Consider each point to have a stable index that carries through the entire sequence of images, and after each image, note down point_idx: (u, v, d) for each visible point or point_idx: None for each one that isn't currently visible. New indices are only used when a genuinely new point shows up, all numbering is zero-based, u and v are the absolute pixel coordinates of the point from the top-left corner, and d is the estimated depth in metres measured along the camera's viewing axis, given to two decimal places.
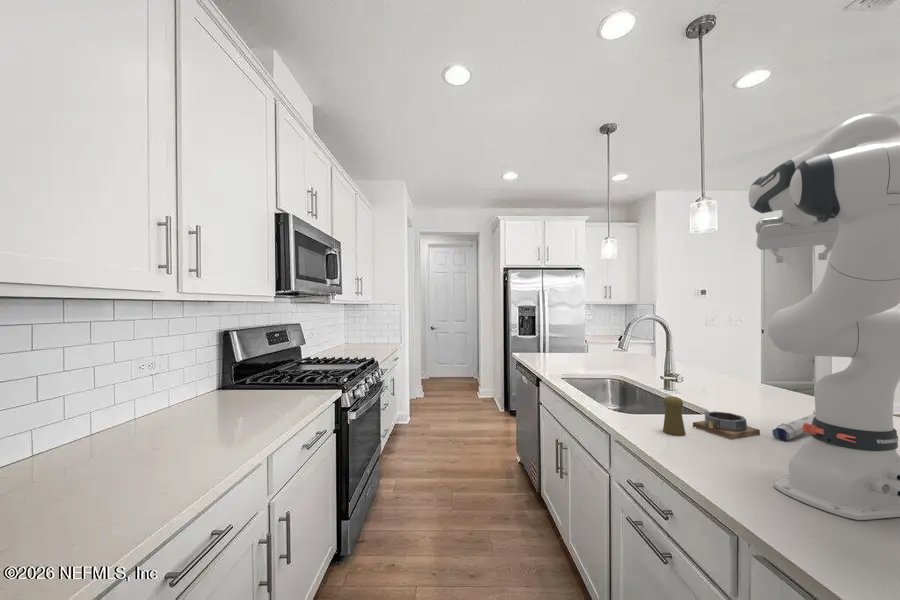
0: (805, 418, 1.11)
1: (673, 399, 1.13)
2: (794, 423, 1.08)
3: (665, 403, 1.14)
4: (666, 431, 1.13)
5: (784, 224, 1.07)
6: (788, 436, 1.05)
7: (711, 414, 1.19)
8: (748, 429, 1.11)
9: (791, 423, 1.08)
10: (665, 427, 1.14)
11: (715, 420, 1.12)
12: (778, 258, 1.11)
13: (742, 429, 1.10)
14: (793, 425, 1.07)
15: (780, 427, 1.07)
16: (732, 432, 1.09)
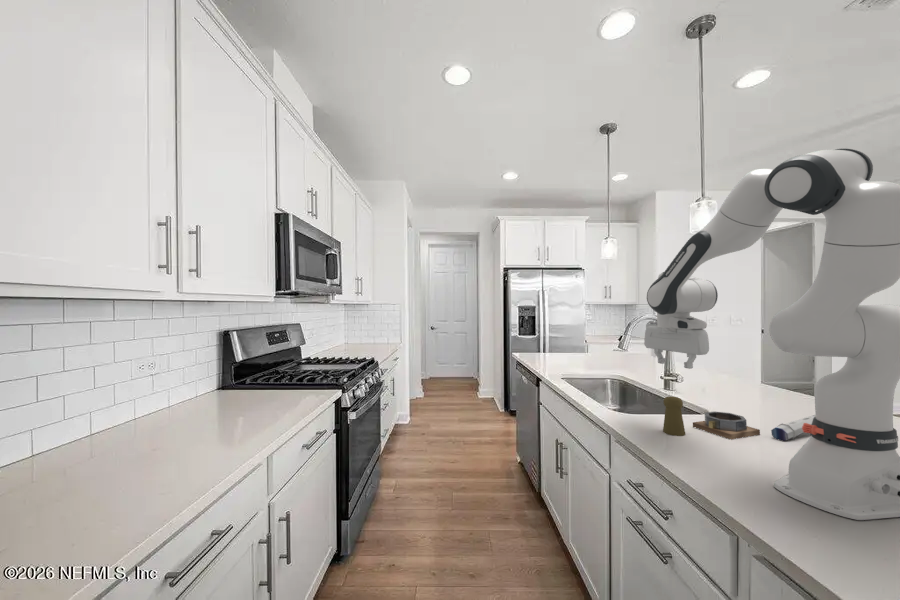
0: (806, 418, 1.10)
1: (673, 399, 1.13)
2: (794, 423, 1.08)
3: (665, 403, 1.14)
4: (666, 431, 1.13)
5: (658, 327, 1.19)
6: (786, 436, 1.05)
7: (711, 414, 1.19)
8: (748, 429, 1.11)
9: (791, 423, 1.08)
10: (665, 427, 1.14)
11: (715, 420, 1.12)
12: (658, 359, 1.20)
13: (742, 429, 1.10)
14: (792, 425, 1.07)
15: (779, 427, 1.07)
16: (732, 432, 1.09)
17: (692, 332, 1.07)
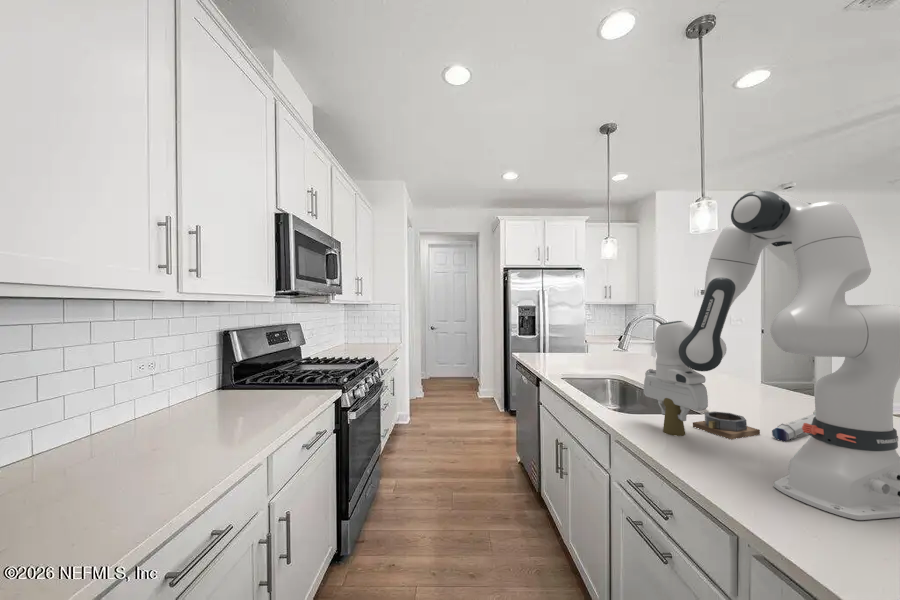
0: (805, 418, 1.11)
1: None
2: (794, 423, 1.08)
3: (665, 403, 1.14)
4: (666, 431, 1.13)
5: (657, 377, 1.18)
6: (787, 436, 1.04)
7: (711, 414, 1.19)
8: (748, 429, 1.11)
9: (791, 423, 1.08)
10: (665, 427, 1.14)
11: (715, 420, 1.12)
12: (662, 410, 1.17)
13: (742, 429, 1.10)
14: (793, 425, 1.07)
15: (779, 427, 1.06)
16: (732, 432, 1.09)
17: (690, 387, 1.06)
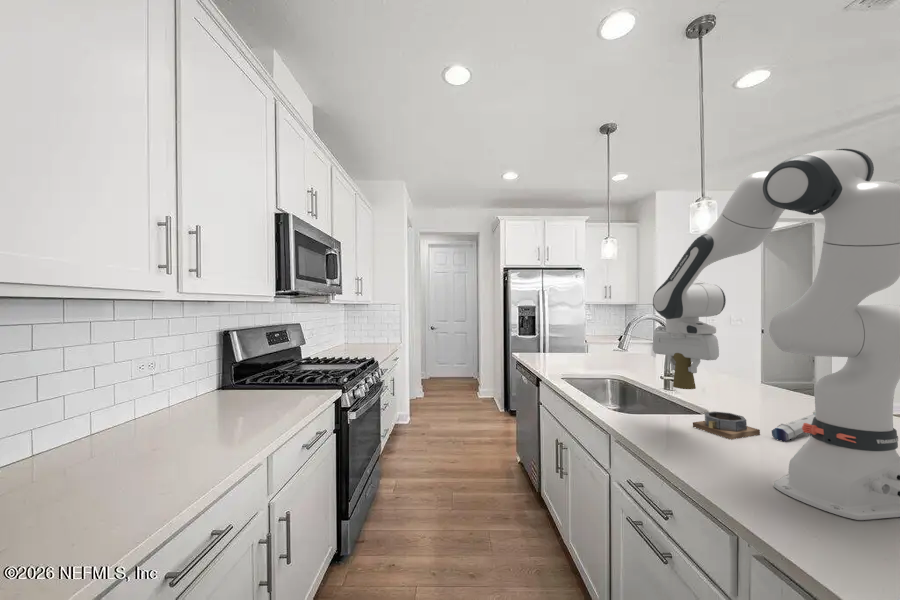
0: (805, 418, 1.11)
1: None
2: (793, 423, 1.08)
3: (675, 357, 1.14)
4: (676, 385, 1.14)
5: (666, 333, 1.18)
6: (787, 436, 1.04)
7: (711, 414, 1.19)
8: (748, 429, 1.11)
9: (790, 423, 1.08)
10: (675, 381, 1.14)
11: (715, 420, 1.12)
12: (672, 365, 1.17)
13: (742, 429, 1.10)
14: (792, 425, 1.07)
15: (779, 427, 1.06)
16: (732, 432, 1.09)
17: (701, 337, 1.06)
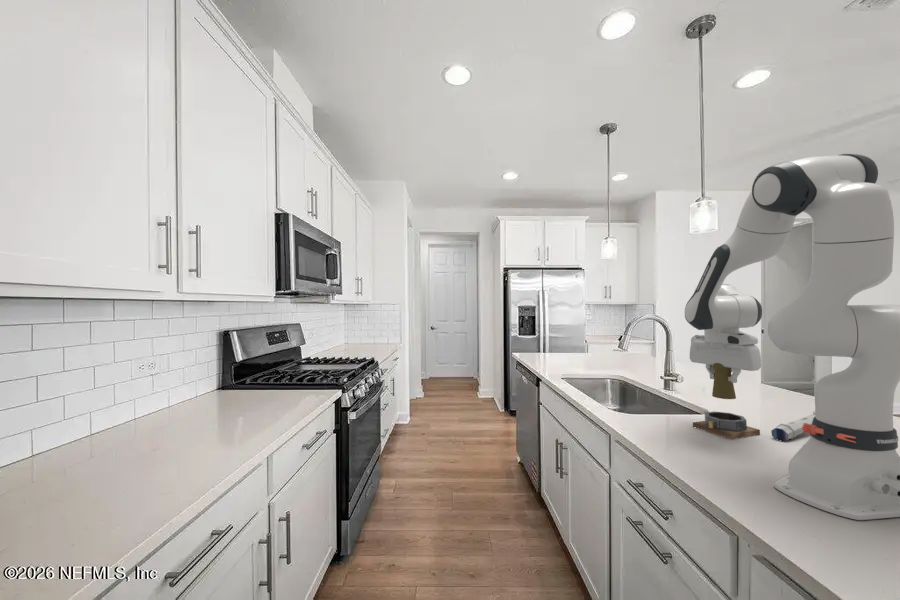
0: (804, 418, 1.10)
1: None
2: (793, 423, 1.08)
3: (715, 367, 1.15)
4: (716, 395, 1.14)
5: (705, 342, 1.19)
6: (787, 436, 1.04)
7: (711, 414, 1.19)
8: (748, 429, 1.11)
9: (790, 423, 1.08)
10: (715, 391, 1.15)
11: (715, 420, 1.12)
12: (710, 374, 1.18)
13: (742, 429, 1.10)
14: (792, 425, 1.07)
15: (779, 427, 1.06)
16: (732, 432, 1.09)
17: (744, 348, 1.07)
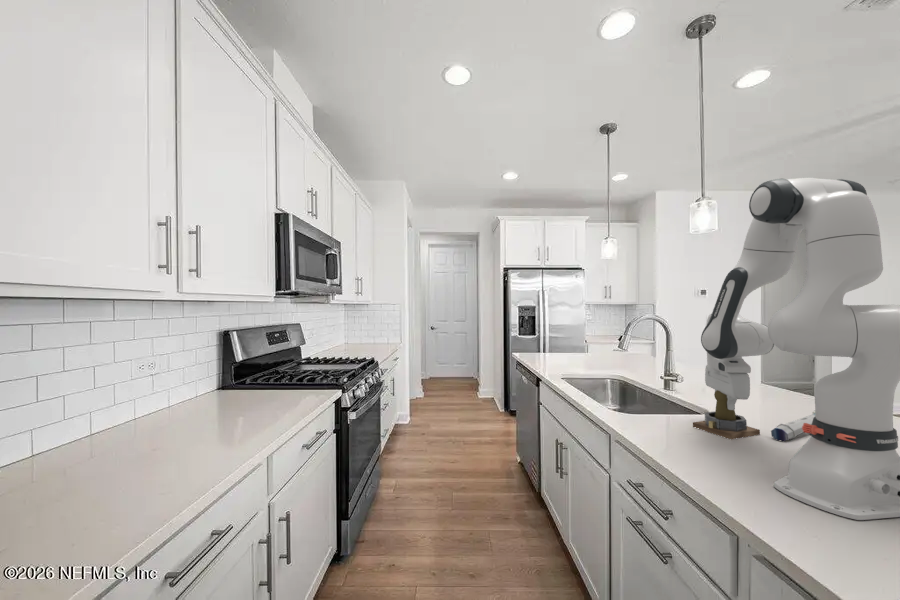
0: (804, 418, 1.10)
1: None
2: (793, 423, 1.08)
3: (717, 396, 1.15)
4: None
5: None
6: (786, 436, 1.04)
7: (711, 414, 1.19)
8: (748, 429, 1.11)
9: (790, 423, 1.08)
10: None
11: (715, 420, 1.12)
12: None
13: (742, 429, 1.10)
14: (792, 425, 1.07)
15: (779, 427, 1.06)
16: (732, 432, 1.09)
17: (729, 375, 1.08)
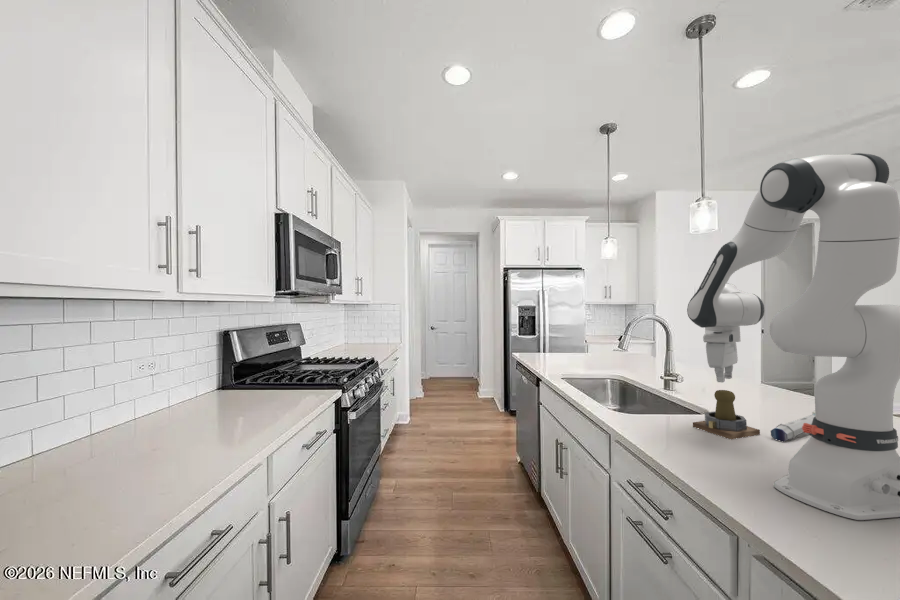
0: (804, 419, 1.10)
1: (725, 392, 1.13)
2: (792, 423, 1.08)
3: (717, 396, 1.15)
4: None
5: None
6: (786, 436, 1.04)
7: (711, 414, 1.19)
8: (748, 429, 1.11)
9: (789, 423, 1.08)
10: None
11: (715, 420, 1.12)
12: None
13: (742, 429, 1.10)
14: (791, 425, 1.07)
15: (778, 427, 1.06)
16: (732, 432, 1.09)
17: (706, 345, 1.11)
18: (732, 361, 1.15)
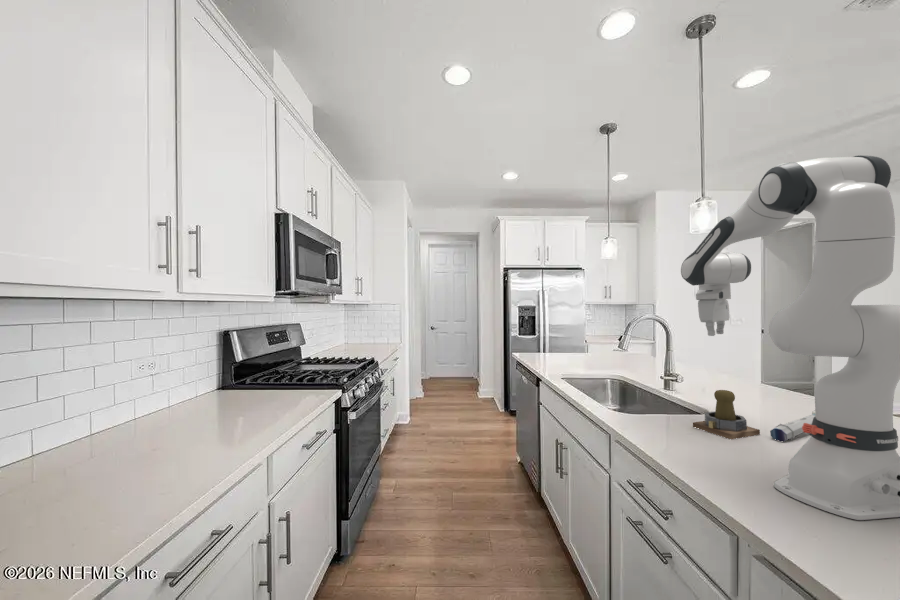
0: (803, 419, 1.10)
1: (725, 392, 1.13)
2: (792, 424, 1.08)
3: (717, 396, 1.15)
4: None
5: None
6: (786, 437, 1.04)
7: (711, 414, 1.19)
8: (748, 429, 1.11)
9: (789, 424, 1.08)
10: None
11: (715, 420, 1.12)
12: None
13: (742, 429, 1.10)
14: (791, 426, 1.07)
15: (778, 428, 1.06)
16: (732, 432, 1.09)
17: (698, 302, 1.22)
18: (723, 317, 1.25)
